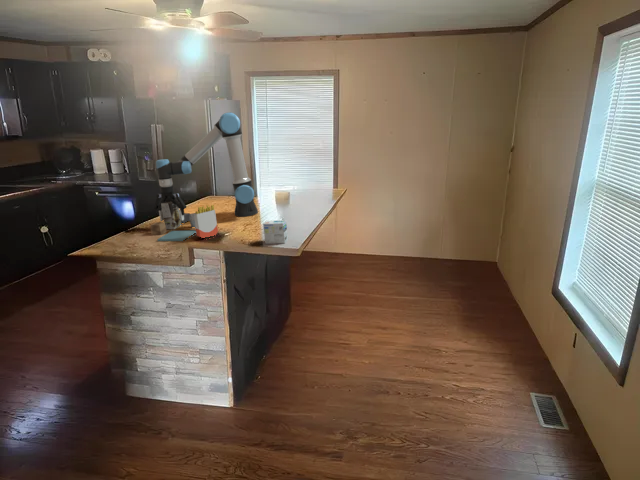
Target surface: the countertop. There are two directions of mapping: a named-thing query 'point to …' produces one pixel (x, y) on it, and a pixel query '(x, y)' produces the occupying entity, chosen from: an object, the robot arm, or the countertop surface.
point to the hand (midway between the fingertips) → (172, 220)
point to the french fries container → (206, 222)
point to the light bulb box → (275, 232)
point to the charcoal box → (186, 218)
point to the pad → (176, 236)
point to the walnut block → (158, 228)
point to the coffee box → (171, 215)
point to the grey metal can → (192, 219)
